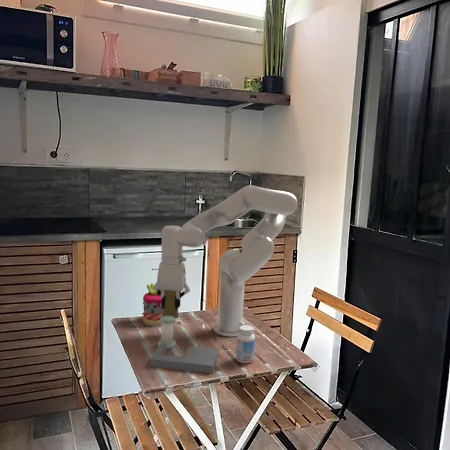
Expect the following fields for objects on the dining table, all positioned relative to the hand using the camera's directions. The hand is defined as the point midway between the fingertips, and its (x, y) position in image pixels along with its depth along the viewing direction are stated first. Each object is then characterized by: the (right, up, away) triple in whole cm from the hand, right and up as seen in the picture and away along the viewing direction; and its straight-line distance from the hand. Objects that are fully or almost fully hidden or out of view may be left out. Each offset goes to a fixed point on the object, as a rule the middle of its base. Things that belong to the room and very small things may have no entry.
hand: (170, 307), depth 169 cm
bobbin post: (0, -12, -8) cm, 14 cm away
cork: (0, -3, 0) cm, 3 cm away
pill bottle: (+27, -15, -16) cm, 34 cm away
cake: (-8, -8, +14) cm, 18 cm away
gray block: (+7, -14, -20) cm, 25 cm away
